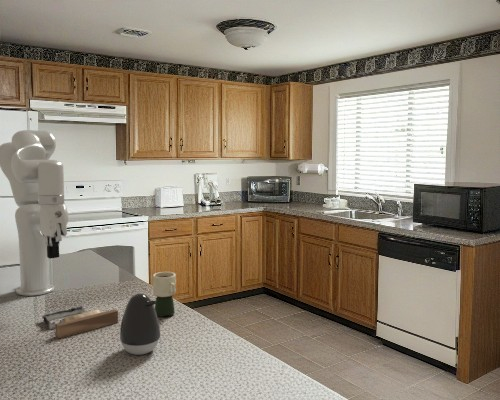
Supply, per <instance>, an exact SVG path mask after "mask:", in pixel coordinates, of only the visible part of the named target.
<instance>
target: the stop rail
mask: <svg viewBox="0 0 500 400" xmlns="http://www.w3.org/2000/svg"><path fill="white" fill-rule="evenodd" d="M58 323H59V322H58ZM58 323H55V325H56V328H55V337H56V338H58V339H62V338H66V337H70V336H73V335H77V334H81V333H84V332H88V331H92V330H95V329H98V328H103V327H105V326H109V325H113V324H117V323H119V311H118V310H117V309H111V310H107V311H103V312H101V313H98V314H94V315H90V316H86V317H82V318H78V319H74V320H70V321H66V322H62V323H59V324H58Z"/></svg>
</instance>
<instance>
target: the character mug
mask: <svg viewBox="0 0 500 400" xmlns="http://www.w3.org/2000/svg"><path fill="white" fill-rule="evenodd" d="M176 284H177V276H176V273H175V272H172V271H160V272H159V271H158V272H155V273H153V275H152V294H153V296H155V297H156V298H155V301H156V304H154V308H155V311H156V314H157V317H158V316H159V317H163V316H166V317H168V316H170V315H174V314H175V311H176V310H175V304H174V299H173V297H172V296H174V295H175V294H176V292H177V289H176Z"/></svg>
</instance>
